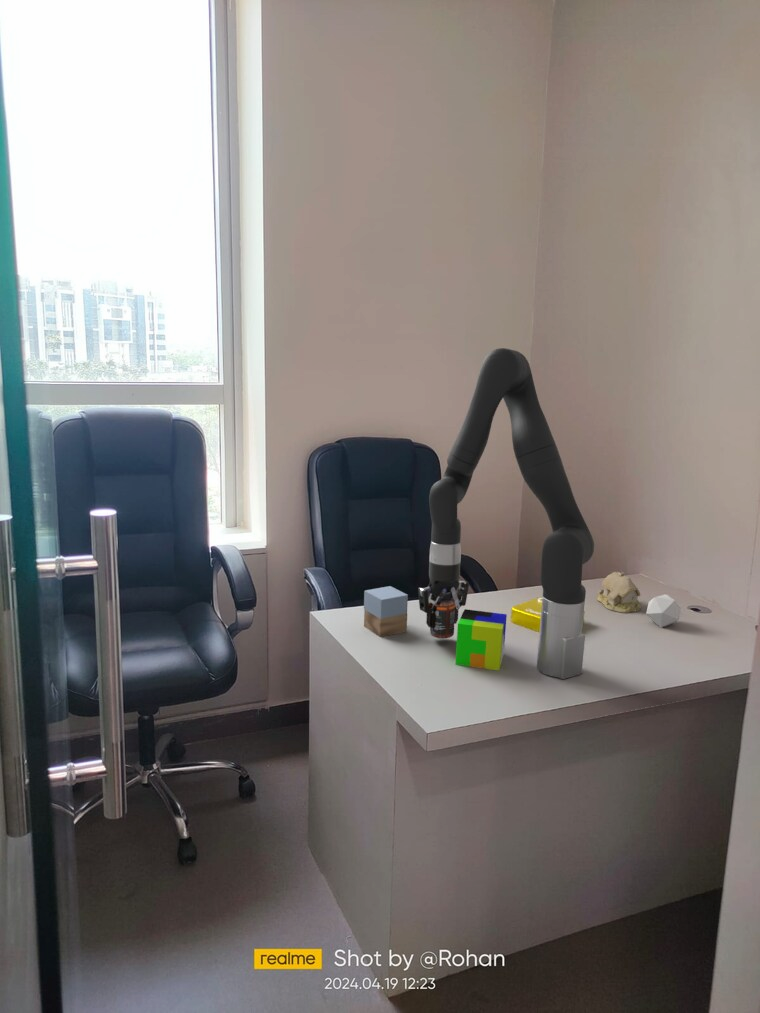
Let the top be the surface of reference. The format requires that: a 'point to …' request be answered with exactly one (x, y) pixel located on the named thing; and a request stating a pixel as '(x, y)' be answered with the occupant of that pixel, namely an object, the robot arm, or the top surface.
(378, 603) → the tower top block
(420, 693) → the top surface
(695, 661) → the top surface
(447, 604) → the supplement bottle
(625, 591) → the ceramic model
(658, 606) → the die
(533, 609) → the element tile
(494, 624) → the puzzle toy
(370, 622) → the tower base block
